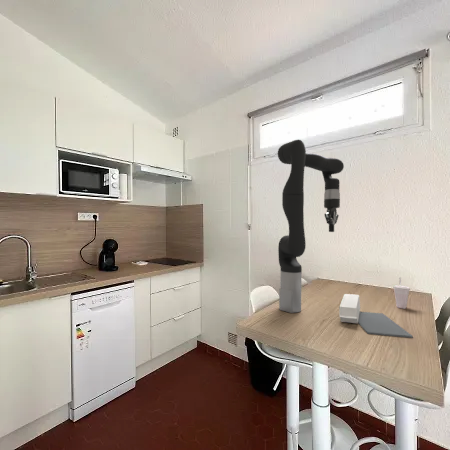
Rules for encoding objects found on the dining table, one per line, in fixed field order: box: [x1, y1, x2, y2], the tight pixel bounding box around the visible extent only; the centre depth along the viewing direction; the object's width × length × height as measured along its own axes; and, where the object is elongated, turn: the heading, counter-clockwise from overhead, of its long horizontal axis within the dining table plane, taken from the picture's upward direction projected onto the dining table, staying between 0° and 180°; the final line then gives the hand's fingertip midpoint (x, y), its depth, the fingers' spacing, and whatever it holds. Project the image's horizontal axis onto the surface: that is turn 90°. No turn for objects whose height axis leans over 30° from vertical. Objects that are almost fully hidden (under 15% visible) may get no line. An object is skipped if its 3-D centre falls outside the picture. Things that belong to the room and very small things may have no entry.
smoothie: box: [392, 276, 411, 310], centre depth 113 cm, size 6×6×14 cm
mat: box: [357, 311, 414, 339], centre depth 93 cm, size 22×14×1 cm, turn 169°
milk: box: [338, 293, 361, 324], centre depth 100 cm, size 6×6×22 cm
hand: (331, 231), depth 125 cm, fingers closed
